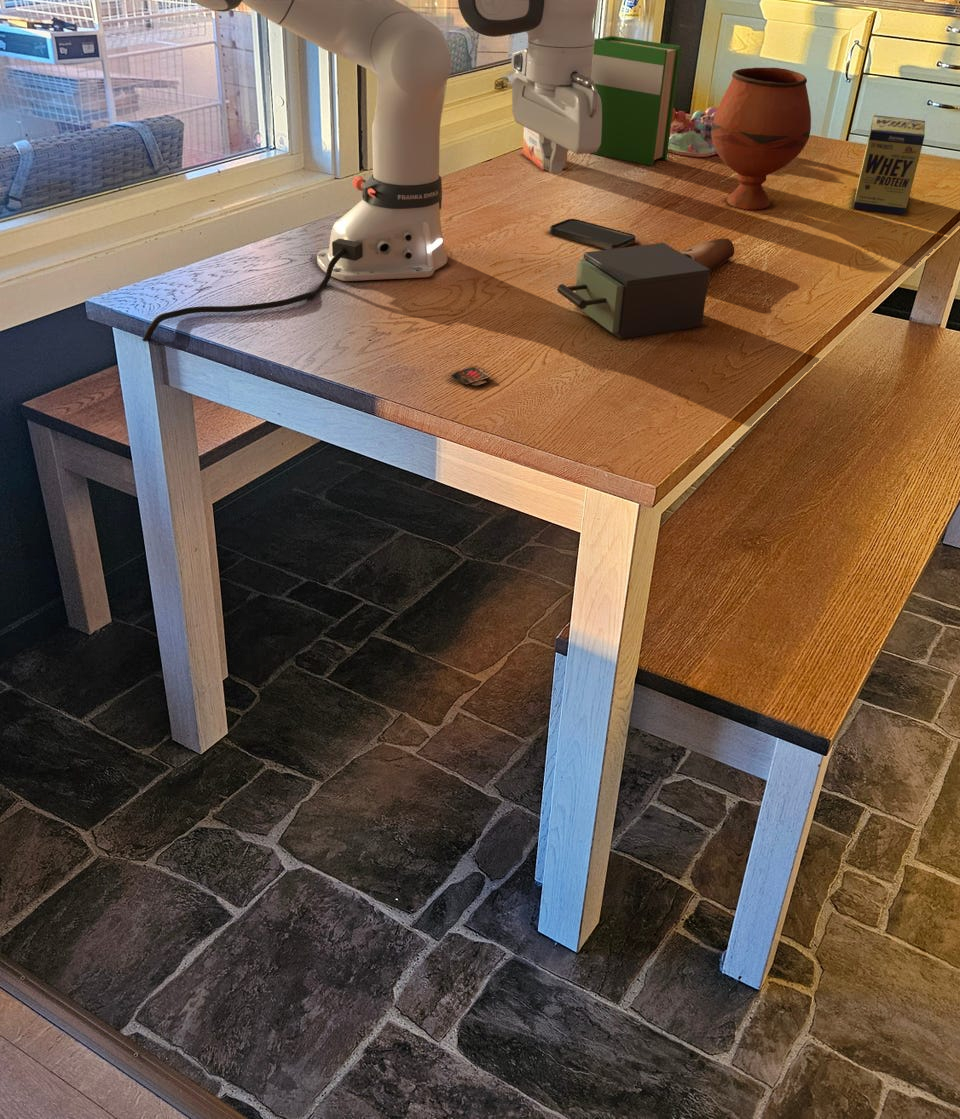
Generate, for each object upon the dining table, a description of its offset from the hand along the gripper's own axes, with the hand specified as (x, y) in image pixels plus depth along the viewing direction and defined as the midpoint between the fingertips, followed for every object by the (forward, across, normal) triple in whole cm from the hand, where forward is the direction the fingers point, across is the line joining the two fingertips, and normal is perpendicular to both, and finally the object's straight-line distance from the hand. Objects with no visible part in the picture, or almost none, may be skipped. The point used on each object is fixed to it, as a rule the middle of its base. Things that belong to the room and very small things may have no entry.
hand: (552, 171), depth 154 cm
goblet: (+23, +43, -70) cm, 85 cm away
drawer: (+22, -2, -12) cm, 25 cm away
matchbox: (+23, -14, +18) cm, 33 cm away
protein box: (+23, +35, -98) cm, 107 cm away
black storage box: (+23, -2, -16) cm, 28 cm away
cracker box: (+23, +84, -44) cm, 98 cm away
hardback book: (+23, +84, -65) cm, 109 cm away
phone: (+23, +34, -28) cm, 50 cm away
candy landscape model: (+23, +86, -89) cm, 126 cm away
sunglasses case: (+23, +13, -36) cm, 45 cm away
